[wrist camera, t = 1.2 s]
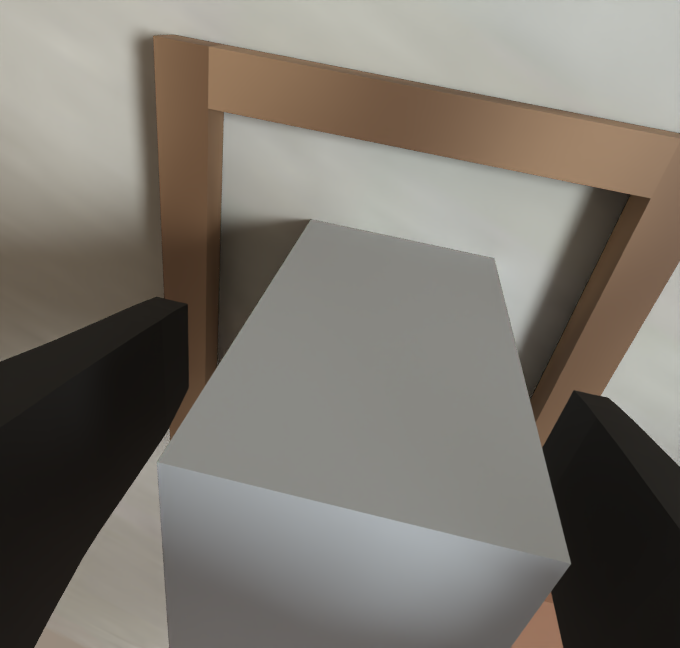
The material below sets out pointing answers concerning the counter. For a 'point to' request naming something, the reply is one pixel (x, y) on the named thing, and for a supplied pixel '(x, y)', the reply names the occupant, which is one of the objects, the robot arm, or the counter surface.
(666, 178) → the frame
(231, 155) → the counter surface
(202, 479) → the slate block
